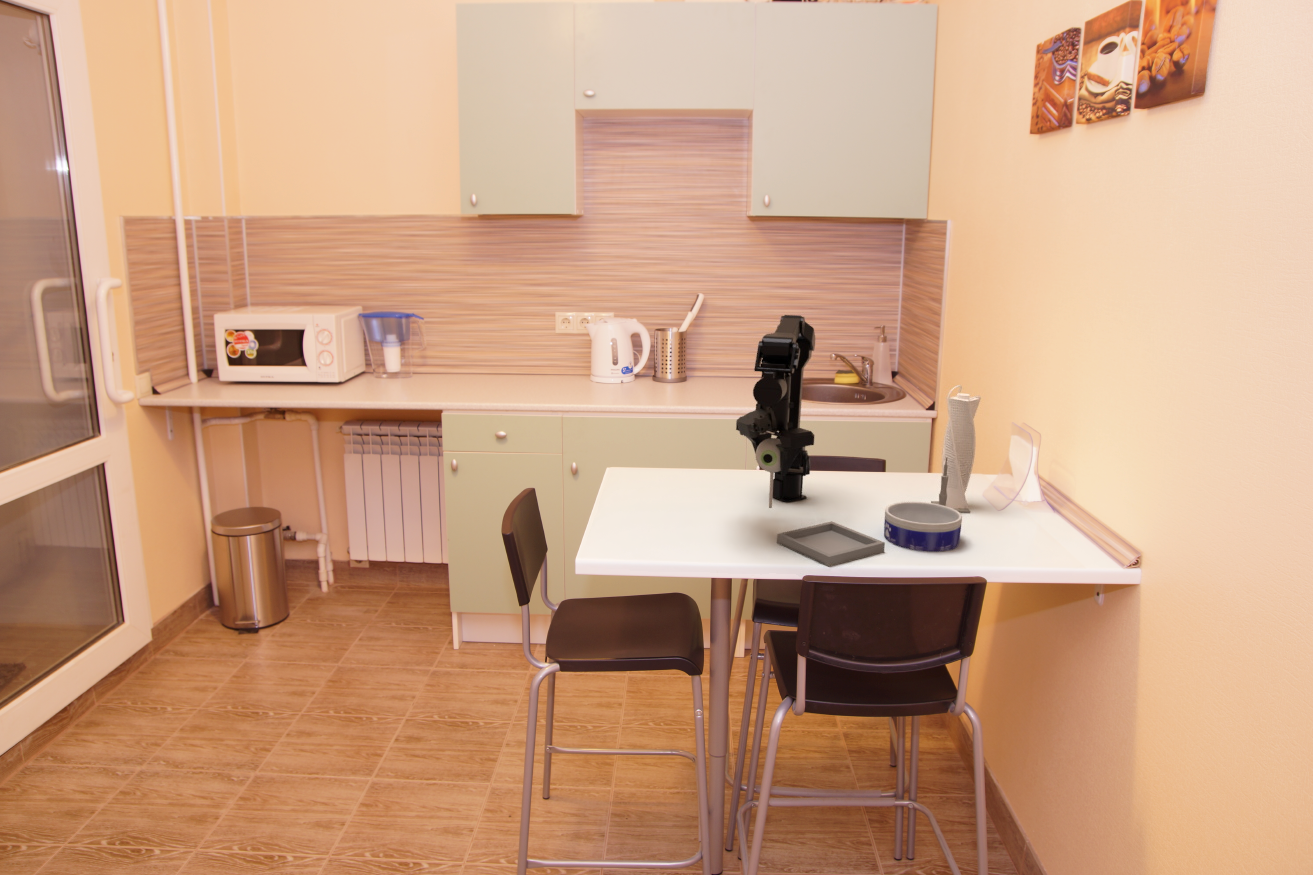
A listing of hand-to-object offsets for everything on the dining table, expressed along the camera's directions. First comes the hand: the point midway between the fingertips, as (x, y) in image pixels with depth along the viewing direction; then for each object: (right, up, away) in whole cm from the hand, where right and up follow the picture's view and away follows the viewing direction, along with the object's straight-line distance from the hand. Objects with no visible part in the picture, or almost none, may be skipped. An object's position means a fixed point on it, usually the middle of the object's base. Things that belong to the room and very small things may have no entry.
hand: (772, 470), depth 190 cm
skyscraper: (+44, -9, +20) cm, 49 cm away
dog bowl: (+31, -14, -1) cm, 34 cm away
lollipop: (0, -8, +2) cm, 8 cm away
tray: (+11, -15, -7) cm, 20 cm away
